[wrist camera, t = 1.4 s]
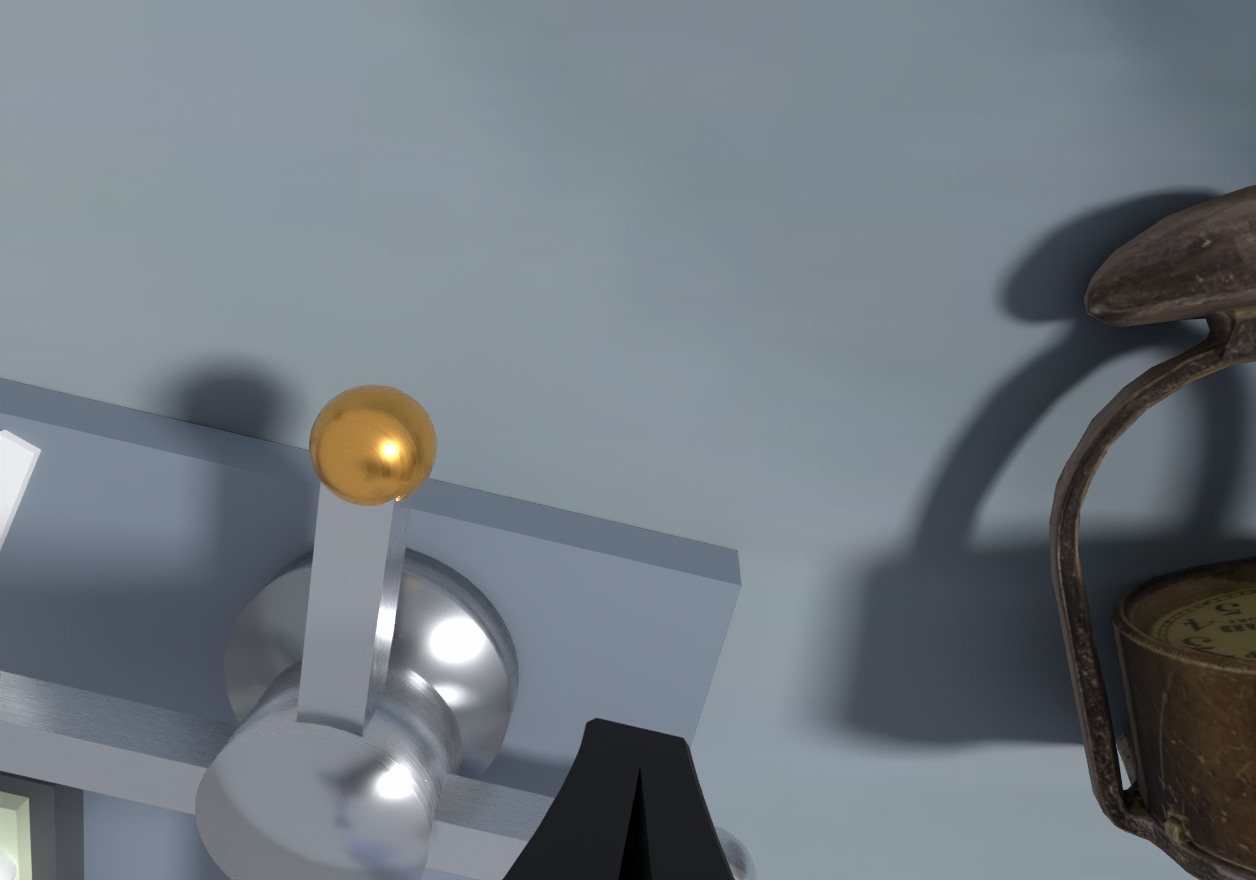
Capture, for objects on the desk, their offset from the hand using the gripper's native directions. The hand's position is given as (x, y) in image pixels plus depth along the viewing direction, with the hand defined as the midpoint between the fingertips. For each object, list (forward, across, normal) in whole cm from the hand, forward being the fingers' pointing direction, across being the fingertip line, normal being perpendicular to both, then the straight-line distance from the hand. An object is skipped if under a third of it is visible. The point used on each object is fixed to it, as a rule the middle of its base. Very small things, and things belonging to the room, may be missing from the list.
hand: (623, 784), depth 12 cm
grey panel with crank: (+8, +7, +8) cm, 13 cm away
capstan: (+6, +5, +5) cm, 9 cm away
